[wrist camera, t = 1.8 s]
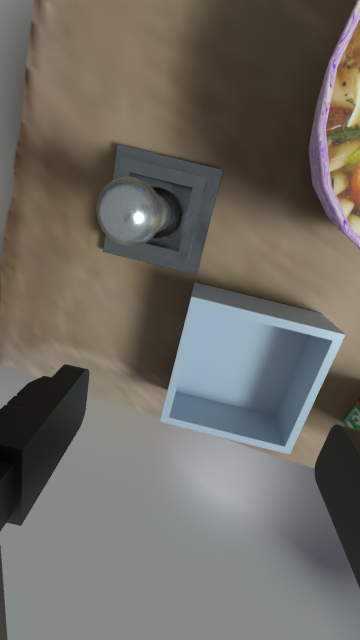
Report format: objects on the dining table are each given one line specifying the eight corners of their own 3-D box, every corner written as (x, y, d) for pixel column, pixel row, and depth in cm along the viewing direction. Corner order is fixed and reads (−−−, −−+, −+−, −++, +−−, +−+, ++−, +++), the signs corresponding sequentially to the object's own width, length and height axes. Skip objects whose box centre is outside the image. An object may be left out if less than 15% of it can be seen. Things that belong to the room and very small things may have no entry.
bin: (194, 281, 32) (191, 296, 27) (321, 313, 32) (345, 334, 26) (167, 390, 37) (159, 421, 31) (277, 417, 37) (289, 454, 31)
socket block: (120, 146, 29) (108, 137, 25) (222, 171, 28) (224, 165, 25) (106, 250, 32) (94, 254, 29) (196, 273, 32) (195, 280, 29)
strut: (141, 183, 29) (87, 159, 16) (186, 194, 28) (167, 179, 16) (133, 230, 30) (78, 242, 17) (176, 241, 30) (151, 260, 17)
